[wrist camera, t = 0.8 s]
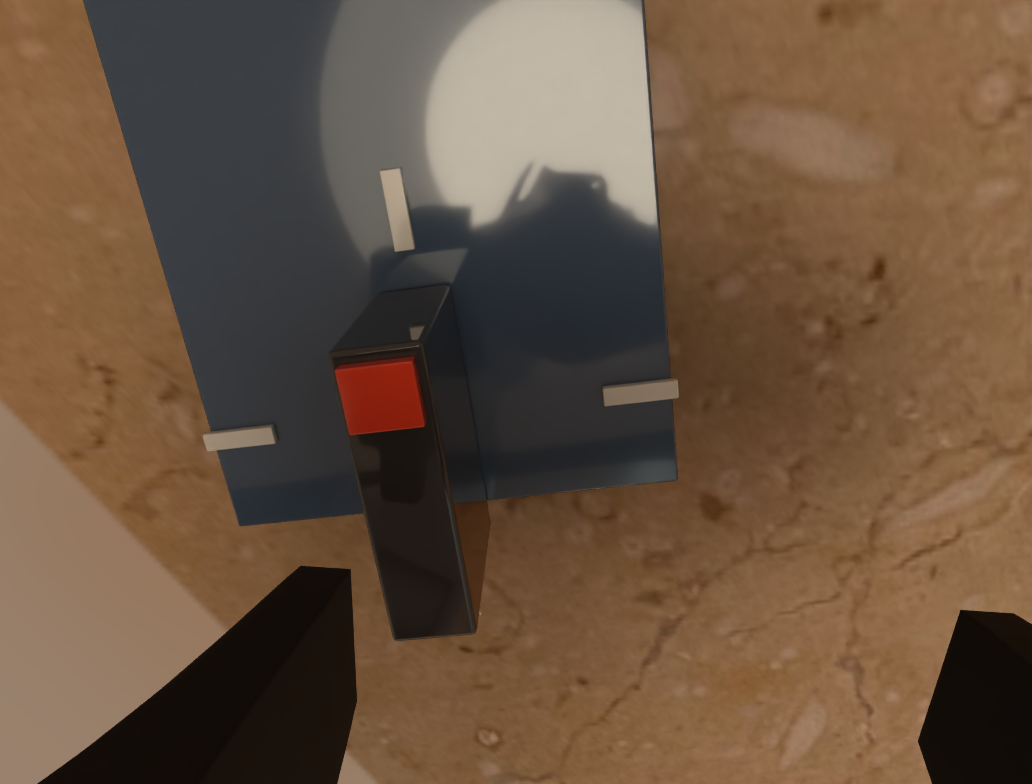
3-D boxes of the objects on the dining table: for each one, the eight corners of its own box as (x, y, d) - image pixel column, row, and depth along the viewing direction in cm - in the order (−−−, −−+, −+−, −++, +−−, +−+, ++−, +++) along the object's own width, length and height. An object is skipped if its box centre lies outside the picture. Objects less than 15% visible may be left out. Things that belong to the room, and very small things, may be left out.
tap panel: (670, 518, 19) (692, 596, 16) (304, 555, 20) (262, 636, 17) (604, -332, 13) (621, -450, 10) (92, -235, 14) (-28, -321, 11)
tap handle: (491, 524, 16) (476, 646, 12) (423, 531, 16) (389, 653, 13) (451, 283, 14) (420, 346, 11) (374, 292, 14) (320, 358, 11)
